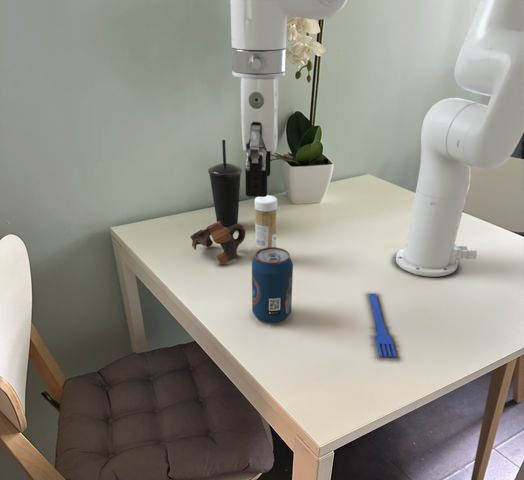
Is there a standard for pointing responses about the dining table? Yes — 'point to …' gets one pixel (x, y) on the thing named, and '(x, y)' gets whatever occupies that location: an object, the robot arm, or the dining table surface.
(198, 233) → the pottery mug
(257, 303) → the soda can
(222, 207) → the drinking cup
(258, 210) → the sprinkles bottle
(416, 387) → the dining table surface
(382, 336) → the blue fork
